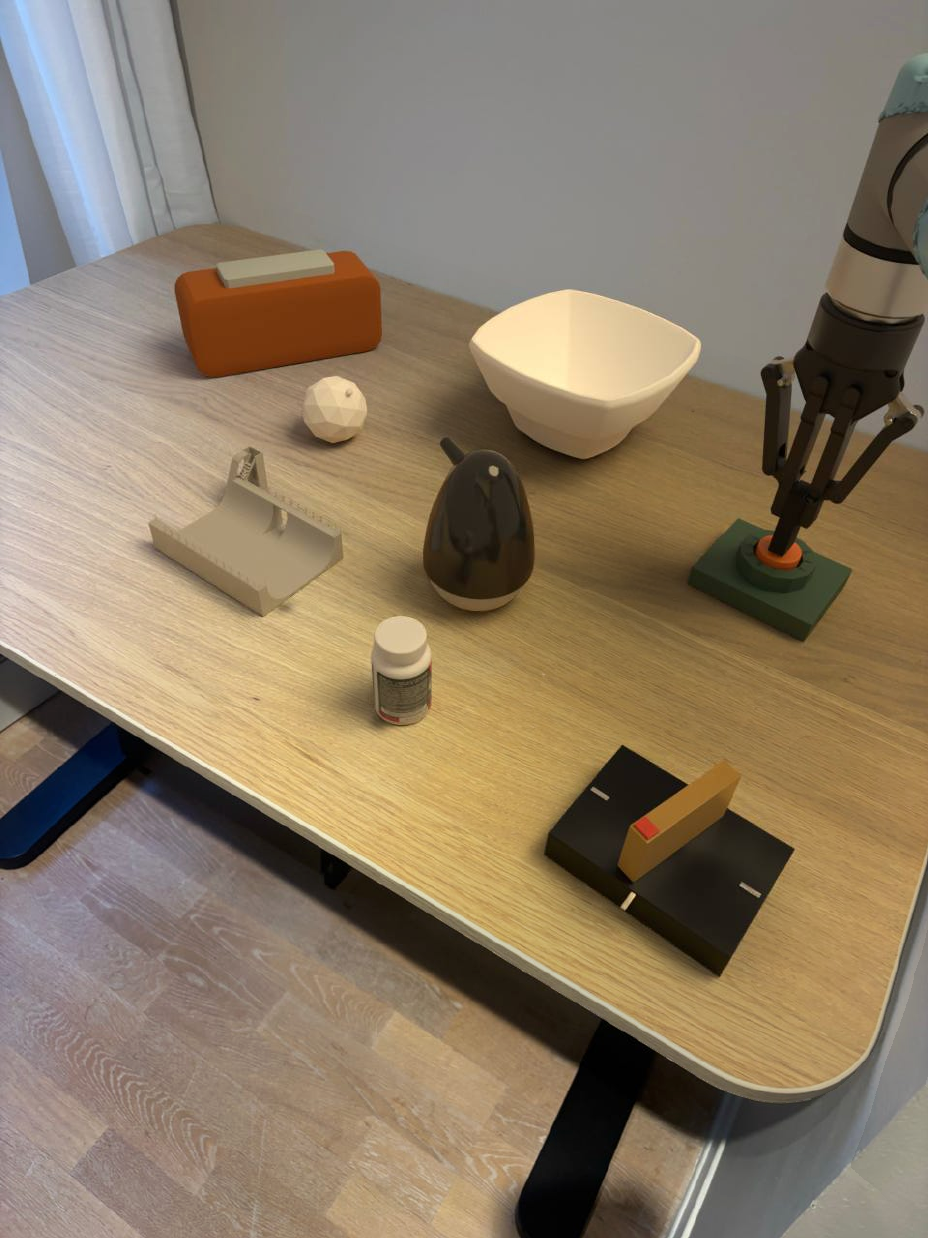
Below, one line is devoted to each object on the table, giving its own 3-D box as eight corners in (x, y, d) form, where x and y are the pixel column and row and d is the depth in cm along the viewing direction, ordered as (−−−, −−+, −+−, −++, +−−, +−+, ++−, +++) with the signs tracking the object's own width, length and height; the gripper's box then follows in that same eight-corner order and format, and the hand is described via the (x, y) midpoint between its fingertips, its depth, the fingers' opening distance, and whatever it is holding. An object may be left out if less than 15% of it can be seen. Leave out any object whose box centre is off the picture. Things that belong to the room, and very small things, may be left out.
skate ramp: (155, 547, 85) (143, 506, 81) (256, 485, 93) (249, 445, 89) (263, 616, 79) (255, 574, 75) (361, 544, 87) (359, 503, 83)
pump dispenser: (477, 540, 88) (485, 407, 77) (552, 594, 82) (572, 459, 72) (398, 584, 83) (396, 448, 72) (473, 645, 77) (483, 508, 67)
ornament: (354, 411, 104) (384, 376, 97) (344, 463, 101) (374, 430, 94) (299, 386, 100) (327, 349, 94) (287, 439, 97) (314, 404, 91)
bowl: (554, 365, 114) (565, 277, 105) (703, 431, 104) (727, 340, 95) (440, 432, 101) (442, 338, 93) (596, 514, 91) (613, 417, 83)
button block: (844, 585, 85) (859, 554, 82) (804, 642, 79) (818, 610, 76) (732, 534, 90) (742, 503, 87) (686, 583, 84) (696, 552, 81)
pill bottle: (441, 712, 72) (444, 642, 66) (391, 735, 70) (389, 665, 64) (413, 674, 75) (412, 604, 69) (363, 696, 73) (359, 625, 67)
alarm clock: (362, 321, 120) (358, 237, 112) (383, 349, 115) (380, 263, 107) (186, 350, 113) (168, 262, 105) (199, 381, 107) (182, 291, 99)
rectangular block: (707, 800, 63) (725, 757, 59) (723, 816, 62) (743, 773, 58) (616, 865, 59) (630, 823, 55) (633, 883, 58) (647, 841, 54)
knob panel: (791, 855, 64) (805, 832, 61) (708, 997, 56) (720, 976, 54) (626, 754, 69) (633, 730, 67) (530, 870, 62) (535, 847, 60)
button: (803, 561, 83) (808, 547, 82) (785, 582, 81) (791, 568, 79) (764, 543, 85) (769, 529, 83) (746, 564, 82) (751, 549, 81)
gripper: (979, 312, 64) (863, 556, 81) (811, 261, 69) (734, 499, 86) (948, 348, 60) (832, 598, 76) (771, 291, 65) (699, 536, 82)
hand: (781, 546), depth 81 cm, fingers closed
